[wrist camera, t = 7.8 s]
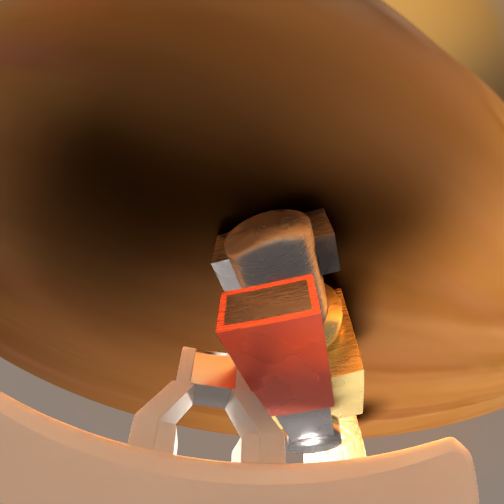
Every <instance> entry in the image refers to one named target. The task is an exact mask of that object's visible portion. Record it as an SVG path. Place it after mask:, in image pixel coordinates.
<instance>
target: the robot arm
mask: <svg viewBox="0 0 504 504" xmlns="http://www.w3.org/2000/svg"><path fill="white" fill-rule="evenodd" d="M192 404H194V405H202V406H210V407H216V408H223V409H225V411H226V412H227V414H228V416H229V418H230V420H231V421H232V423H233V425H234V427H235V429H236V430H237V432H238V434H239V436H240V437H241V438H240V440H239V441H238V443H237V445H236V446H235V448H234V449H233V451H232V461H231V462H227V461H216V460H207V459H200V458H192V457H186V456H180V455H177V446H178V444H177V427H176V426H175V424H176V423H177V422H178V421H179V420H180V419H181V418H182V416H183V415H184V414H185V413H186V412H187V411H188V410H189V409H190V407H191V406H192ZM285 458H286V457H285V439H284V433H283V432H282V431H281V429H280V428H279V427H278V425H277V424H276V423H275V421H274V420H273V418H272V417H271V416H270V414H269V413H268V411H267V410H266V409H265V407H264V406H263V404H262V403H261V402H260V400H259V399H258V397H257V396H256V395H255V393H254V392H252V391H250V388H249V386H248V385H247V383H246V382H245V380H244V378H243V377H242V375H241V374H240V372H239V370H238V369H237V367H236V366H235V364H234V362H233V361H232V359H231V357H230V356H229V354H228V353H221V352H214V351H206V350H201V349H196V348H190V347H184V346H183V349H182V352H181V357H180V362H179V367H178V373H177V378H176V381H175V380H172V381H171V382H170V383H169V384H168V385H167V386H165V387H164V388H163V389H162V390H161V391H160V392H159V393H158V394H157V395H156V396H154V397H153V398H152V399H151V400H150V401H149V402H148V403H147V404H146V405H144V406H143V407H142V408H141V409H140V410H139V411H138V412H137V413H135V414H134V419H133V423H132V427H131V431H130V436H129V441H128V444H125V443H122V442H118V441H115V440H111V439H108V438H105V437H102V436H99V435H95V434H93V433H90V432H87V431H84V430H81V429H79V428H76V427H73V426H71V425H68V424H66V423H63V422H61V421H58V420H56V419H54V418H52V417H49V416H47V415H45V414H43V413H40V412H38V411H36V410H34V409H32V408H30V407H28V406H26V405H24V404H22V403H20V402H18V401H16V400H15V399H13V398H11V397H9V396H7V395H5V394H4V393H2V392H0V504H479V495H478V487H477V480H476V474H475V469H474V464H473V460H472V457H471V455H470V452H469V451H468V450H467V449H466V448H465V447H464V446H463V445H462V444H461V443H460V442H459V441H458V440H456V439H455V438H453V437H446V438H443V439H440V440H437V441H433V442H430V443H427V444H423V445H419V446H415V447H412V448H407V449H403V450H398V451H394V452H389V453H384V454H379V455H373V456H368V457H361V458H354V459H346V460H337V461H327V462H313V463H291V464H286V459H285Z"/></svg>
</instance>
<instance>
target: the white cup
mask: <svg viewBox="0 0 504 504" xmlns="http://www.w3.org/2000/svg"><path fill="white" fill-rule="evenodd" d="M339 425H340V432H341V439H342V443H341V445H339V446H338V447H336V448H333V449H331V450H327V451H323V452H318V453H310V454H304V463H313V462H327V461H337V460H346V459H354V458H361V457H366V452H365V448H364V442H363V439H362V434H361V430H360V428H359V426H358V421H357V416H356V415H354V416H350V417H346V418H341V419H339Z"/></svg>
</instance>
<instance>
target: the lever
mask: <svg viewBox="0 0 504 504" xmlns="http://www.w3.org/2000/svg"><path fill="white" fill-rule="evenodd" d="M216 334H217V336H218V337H219V339H220V341H221V342H222V344H223V346H224V347H225V349H226V351H227V352H228V354H229V356H230V357H231V359H232V361H233V362H234V364H235V366H236V367H237V369H238V370H239V372H240V374H241V375H242V377H243V378H244V380H245V382H246V383H247V385H248V386H249V388H250V389H251V391H252V392H254V393H255V395H256V396H257V397H258V399H259V400H260V402H261V403H262V404H263V406H264V407H265V409H266V410H267V411H268V413H269V414H270V416H276V418H277V419H278V421H279V423H280V424H281V426H282V427H283V429H284V431H285V432H286V434H287V437H288V450H289V451H290V452H293V453H299V454H310V453H318V452H323V451H327V450H331V449H333V448H336V447H338V446H339V445H341V443H342V439H341V432H340V425H339V419H338V417H336V416H334V415H331V409H330V407H335V405H334V396H333V388H332V381H331V373H330V366H329V359H328V352H327V346H326V339H325V333H324V327H323V321H322V315H321V310H320V305H319V301H318V296H317V291H316V287H315V283H314V278H313V274H308V275H303V276H299V277H294V278H290V279H285V280H280V281H276V282H271V283H266V284H261V285H256V286H251V287H246V288H241V289H236V290H231V291H226V292H221V299H220V306H219V312H218V319H217V326H216Z"/></svg>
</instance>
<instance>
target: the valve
mask: <svg viewBox="0 0 504 504" xmlns="http://www.w3.org/2000/svg"><path fill="white" fill-rule="evenodd" d="M211 265H212V267H213V269H214V271H215V273H216V275H217V277H218V280H219V282H220V284H221V286H222V288H223V290H224V292H226V291H231V290H236V289H241V288H246V287H251V286H256V285H261V284H266V283H271V282H276V281H280V280H285V279H290V278H294V277H299V276H303V275H308V274H313V278H314V283H315V287H316V291H317V296H318V301H319V305H320V310H321V315H322V321H323V327H324V333H325V339H326V346H327V352H328V359H329V366H330V373H331V381H332V388H333V396H334V405H335V407H330V409H331V415H334V416H336V417H338V419H341V418H346V417H350V416H354V415H359V414H363V397H364V367H363V364H362V360H361V356H360V352H359V348H358V345H357V341H356V338H355V334H354V331H353V327H352V324H351V320H350V317H349V313H348V310H347V307H346V303H345V300H344V297H343V294H342V291H341V288H337V289H332V288H331V287H330V286H328V285H327V284H325V283H324V281H323V276H322V275H325V274H329V273H333V272H337V271H340V264H339V258H338V251H337V245H336V239H335V233H334V231H333V229H332V226H331V224H330V222H329V219H328V217H327V215H326V213H325V210H324V208H322V209H318V210H314V211H310V212H306V213H302V212H299V211H296V210H289V209H282V210H273V211H268V212H264V213H261V214H258V215H255V216H253V217H251V218H249V219H247V220H245V221H243V222H242V223H240V224H239V225H237V226H236V227H235V228H234V229H233V230H232V231H231V232H229V233H225V234H221V235H218V236H217V239H216V243H215V247H214V252H213V256H212V260H211ZM250 391H251V389H250ZM271 417H272V418H273V420H274V421H275V423H276V424H277V425H278V427H279V428H280V429H283V427H282V426H281V424H280V423H279V421H278V419H277V418H276V416H271Z"/></svg>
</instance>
